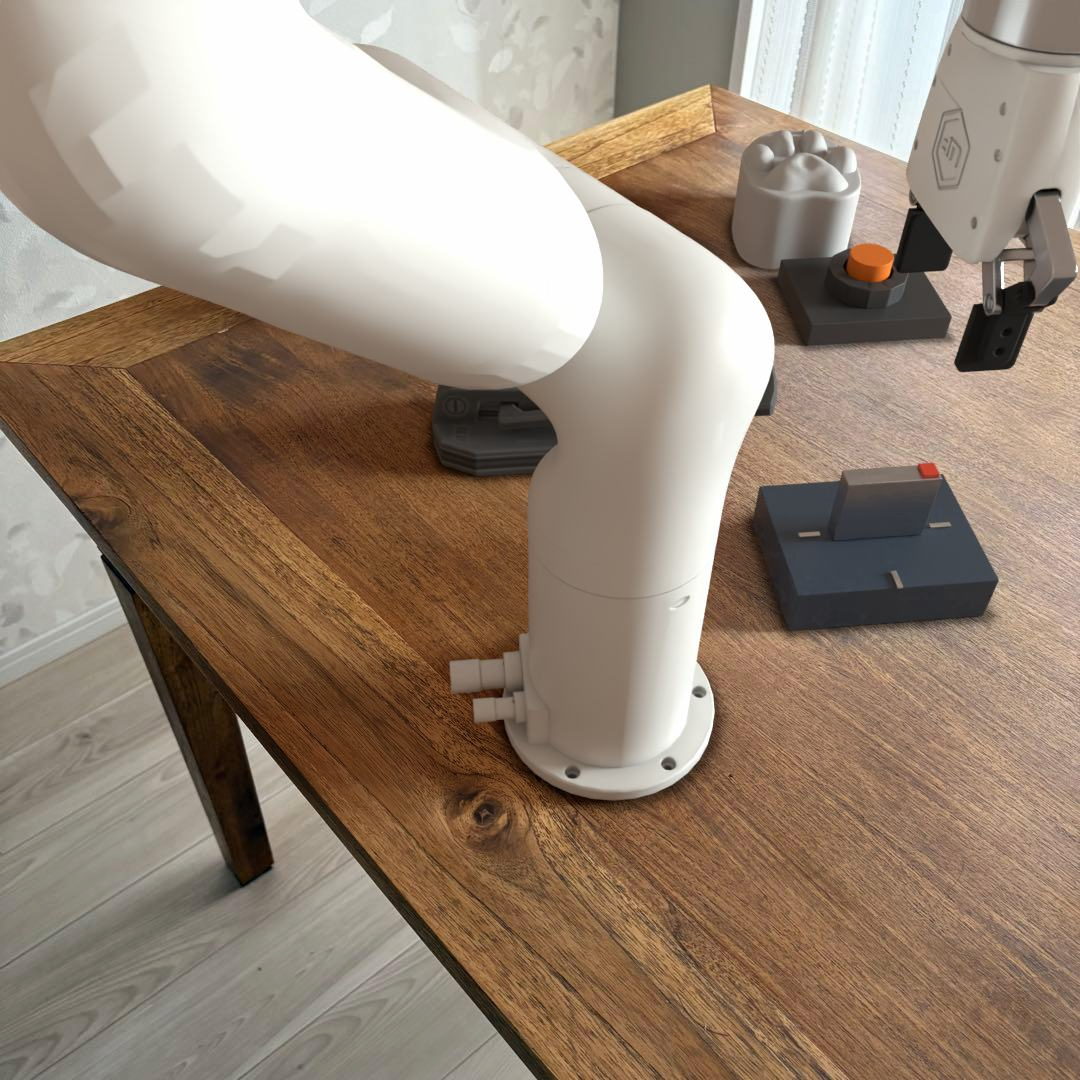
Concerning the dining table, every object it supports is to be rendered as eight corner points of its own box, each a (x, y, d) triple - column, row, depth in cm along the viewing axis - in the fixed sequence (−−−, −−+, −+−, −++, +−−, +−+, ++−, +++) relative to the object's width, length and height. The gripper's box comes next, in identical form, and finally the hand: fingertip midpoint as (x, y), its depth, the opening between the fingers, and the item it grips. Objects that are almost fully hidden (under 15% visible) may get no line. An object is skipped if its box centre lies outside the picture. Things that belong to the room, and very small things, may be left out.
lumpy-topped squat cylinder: (737, 268, 101) (751, 180, 95) (726, 197, 110) (737, 112, 104) (852, 271, 101) (873, 182, 95) (831, 199, 110) (849, 114, 104)
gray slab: (833, 541, 72) (849, 481, 68) (827, 526, 73) (842, 466, 69) (922, 534, 72) (944, 475, 69) (915, 519, 73) (936, 460, 70)
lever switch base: (788, 632, 71) (798, 594, 69) (751, 521, 78) (759, 483, 76) (984, 617, 72) (1001, 579, 70) (929, 508, 79) (943, 470, 77)
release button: (853, 285, 93) (857, 267, 92) (840, 262, 95) (844, 244, 94) (895, 283, 93) (899, 265, 92) (881, 260, 96) (885, 242, 94)
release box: (806, 346, 93) (815, 306, 90) (776, 280, 100) (784, 241, 97) (945, 338, 94) (958, 298, 91) (906, 273, 101) (917, 234, 98)
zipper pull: (785, 410, 76) (423, 404, 77) (770, 481, 81) (429, 475, 82) (769, 334, 83) (434, 328, 83) (756, 404, 87) (439, 398, 88)
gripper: (908, -59, 57) (840, 240, 69) (1053, 85, 45) (940, 416, 57) (1048, -63, 57) (956, 234, 70) (1229, 78, 45) (1080, 407, 58)
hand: (949, 316), depth 63 cm, fingers open, 9 cm apart
